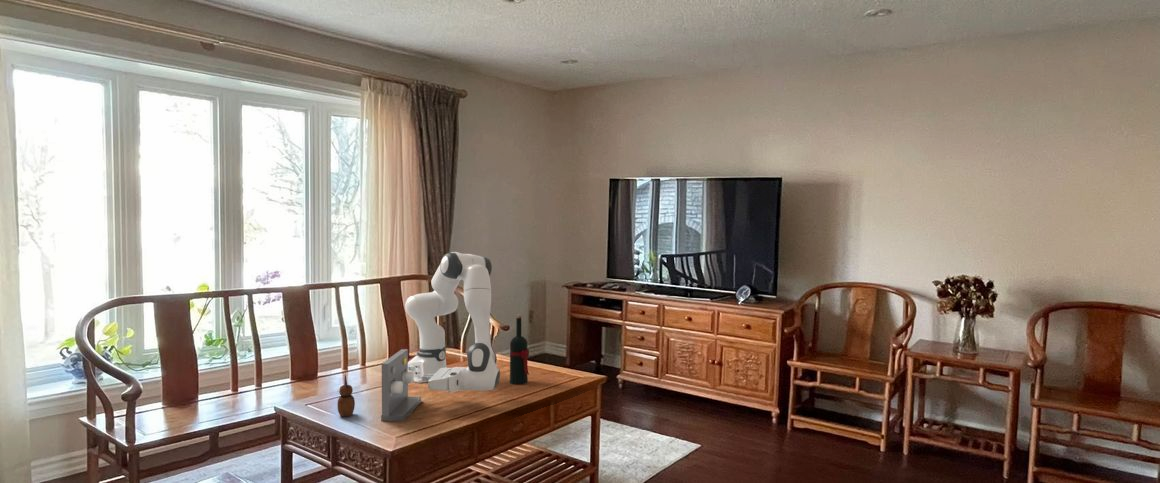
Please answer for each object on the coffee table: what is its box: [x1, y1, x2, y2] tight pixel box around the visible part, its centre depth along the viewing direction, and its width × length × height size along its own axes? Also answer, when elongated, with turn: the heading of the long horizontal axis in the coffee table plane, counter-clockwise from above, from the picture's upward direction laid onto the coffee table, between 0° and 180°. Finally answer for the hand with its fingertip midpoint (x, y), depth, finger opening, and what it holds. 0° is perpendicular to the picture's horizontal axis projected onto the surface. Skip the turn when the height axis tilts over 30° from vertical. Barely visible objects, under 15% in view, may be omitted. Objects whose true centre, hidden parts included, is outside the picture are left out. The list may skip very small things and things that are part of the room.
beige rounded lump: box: [402, 372, 414, 384], centre depth 257 cm, size 3×4×4 cm
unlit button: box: [391, 381, 403, 394], centre depth 243 cm, size 3×4×4 cm
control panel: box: [380, 348, 422, 422], centre depth 250 cm, size 8×24×21 cm, turn 178°
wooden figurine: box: [337, 374, 356, 418], centre depth 244 cm, size 7×6×15 cm
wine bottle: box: [509, 314, 530, 386], centre depth 291 cm, size 8×10×30 cm
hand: (422, 377), depth 257 cm, fingers closed
